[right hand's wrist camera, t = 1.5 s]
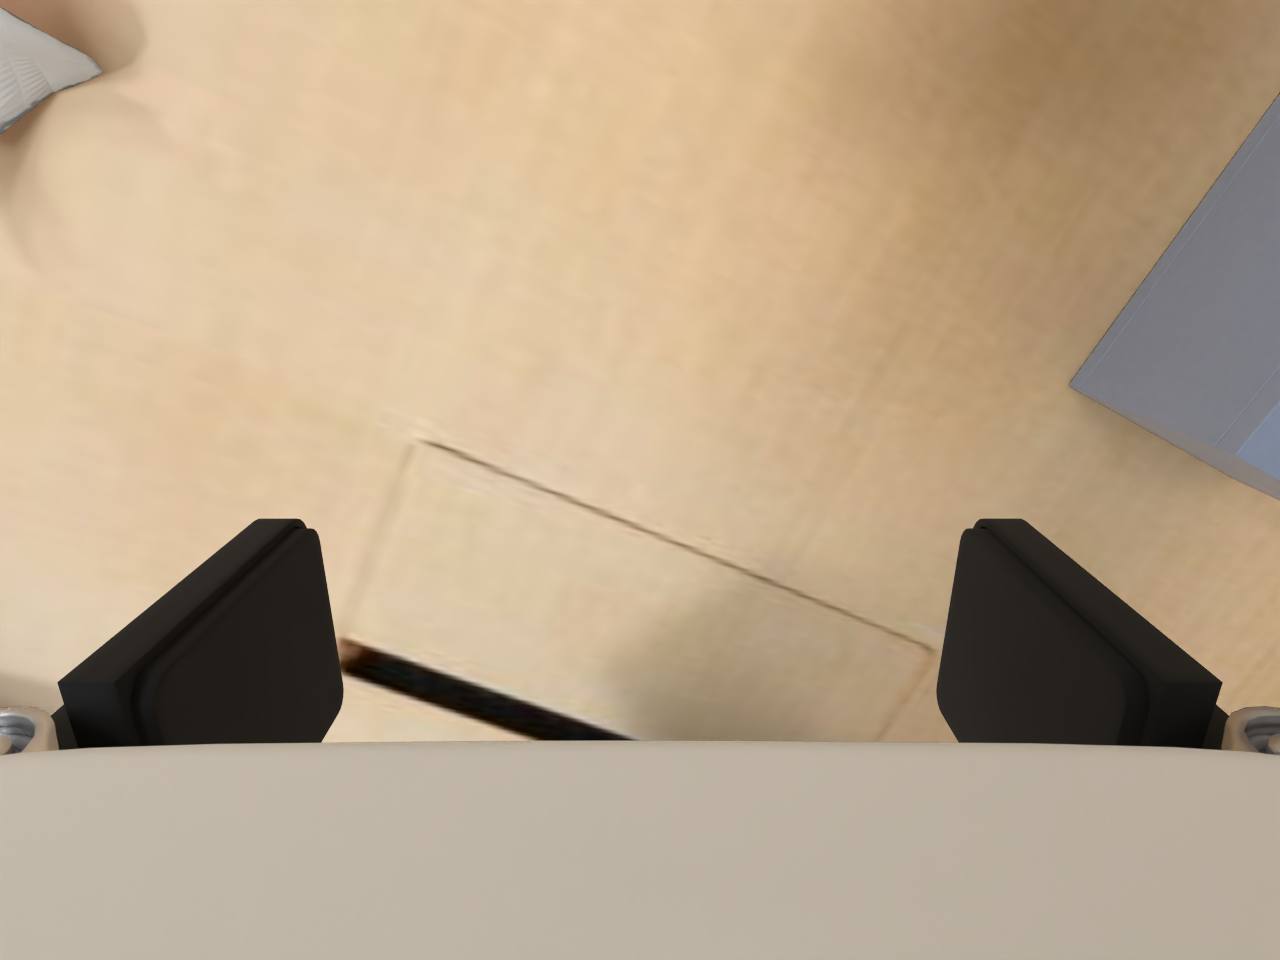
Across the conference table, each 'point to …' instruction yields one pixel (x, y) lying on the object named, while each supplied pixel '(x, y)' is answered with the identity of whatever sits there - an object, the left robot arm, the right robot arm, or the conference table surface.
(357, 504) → the conference table surface
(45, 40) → the red white irregular piece
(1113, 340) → the grey box
